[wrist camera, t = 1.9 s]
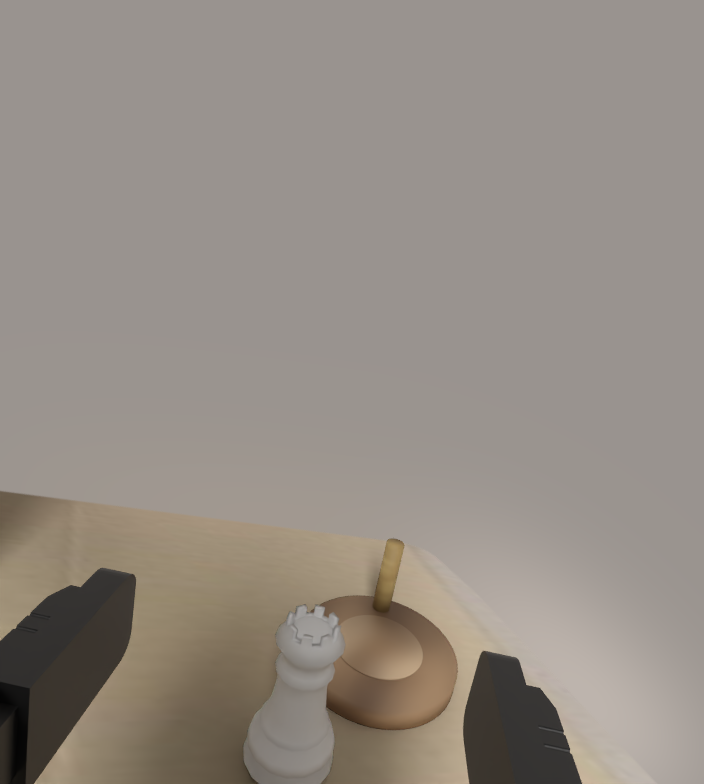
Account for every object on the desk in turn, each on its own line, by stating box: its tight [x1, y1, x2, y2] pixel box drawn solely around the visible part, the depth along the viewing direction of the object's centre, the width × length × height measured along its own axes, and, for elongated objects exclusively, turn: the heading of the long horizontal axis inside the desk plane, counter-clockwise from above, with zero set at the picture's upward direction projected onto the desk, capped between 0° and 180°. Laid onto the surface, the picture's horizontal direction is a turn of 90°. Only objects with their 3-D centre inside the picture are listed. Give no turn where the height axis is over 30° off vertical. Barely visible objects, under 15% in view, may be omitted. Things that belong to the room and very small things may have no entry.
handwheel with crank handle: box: [311, 539, 458, 730], centre depth 34 cm, size 10×10×6 cm
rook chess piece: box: [243, 604, 346, 784], centre depth 26 cm, size 4×4×8 cm
